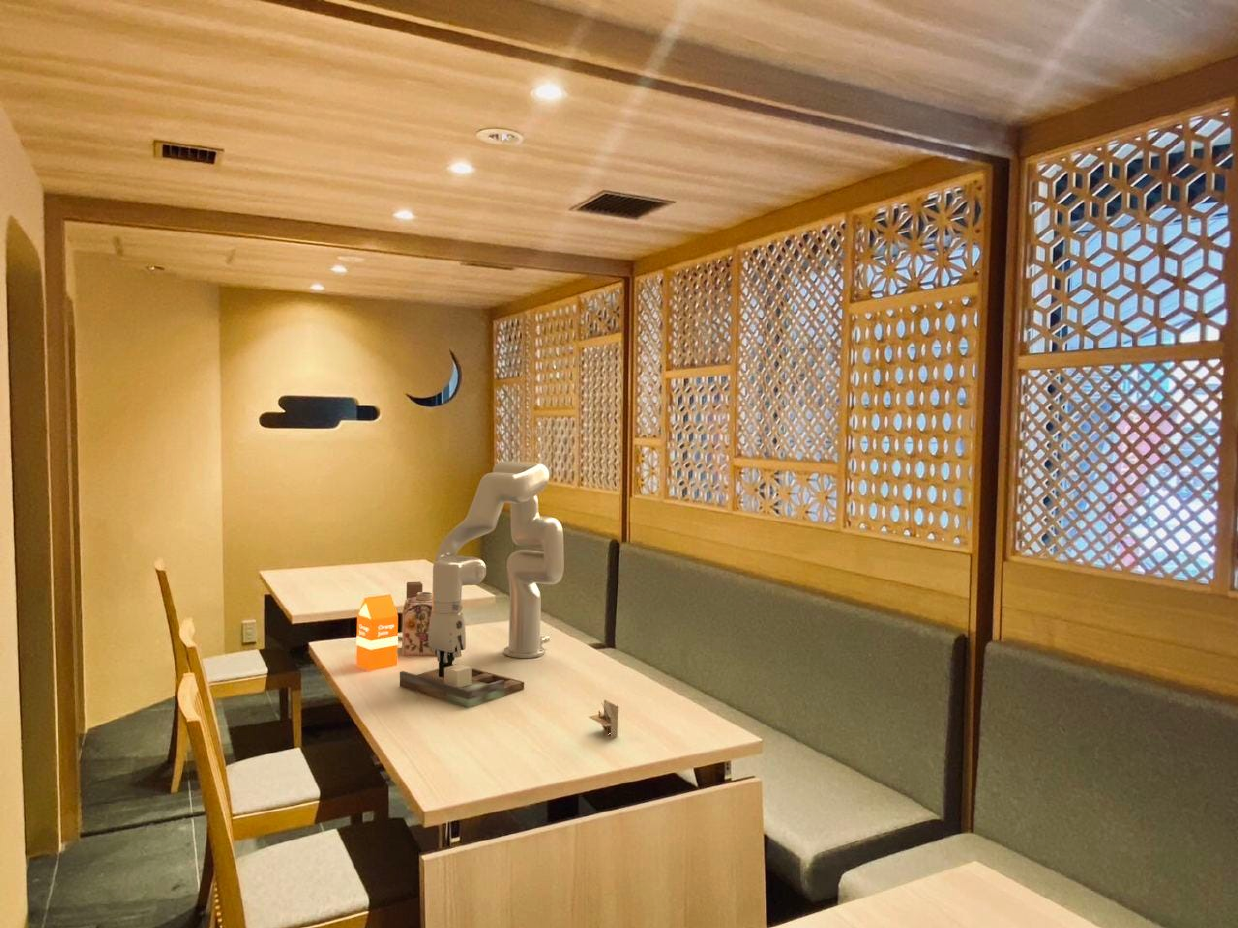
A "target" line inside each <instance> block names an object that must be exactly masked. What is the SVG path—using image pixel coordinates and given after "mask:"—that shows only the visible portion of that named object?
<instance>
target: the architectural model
mask: <svg viewBox="0 0 1238 928" xmlns="http://www.w3.org/2000/svg"><path fill="white" fill-rule="evenodd" d="M601 704H602V708H603V712H602V711H600V710H598V714H593V715H589V716H588V717H589V720H592V721H594V722H596V723H598V724H600V725H601V726H602V729H603V728H604V729H603V731H604V732H605V735H606V734H607V735H608V734H609V733H611V735H610V738H611V737H614V738H617V737H618V735H619V705H618V704H615V703H613V702H611V701H609V700H606V699H604V700H603V702H602V703H601ZM607 735H606V736H607ZM608 736H609V735H608ZM616 736H617V737H616Z"/></svg>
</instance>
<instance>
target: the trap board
mask: <svg viewBox="0 0 1238 928" xmlns="http://www.w3.org/2000/svg"><path fill="white" fill-rule="evenodd" d="M457 664H458V663H454V664H452V666H453V665H457ZM399 688H402V689H406V690H409V691H412V692H414V693H420V694H422V695H426V696H430V697H433V698H436V699H439V700H443V701H446V702H449V703H451V704H455V705H458V706H461V707H466V708H468V709H469V708H472V707H474V706H478V705H481V704H485V703H487V702H490V701H493V700H497V699H499V698H502V697H505V696H508V695H512V694H515V693H517V692H521V691H523V690H525V681H523V680H520V679H519V680H518V679H514V678H510V677H506V676H503V675H500V674H499V675H498V674H497V673H496V674H495V673H491V672H488V671H484V670H481V669H477V668H473V667H472V680H471V685H468V686H465V687H457V686H454V685H450V684H447V683H444V678H442V677H439V668H437V669H433V670H429V671H425V672H422V673H418V674H415V673H412V672H408V671H404V670H402V671H399Z"/></svg>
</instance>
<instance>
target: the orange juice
mask: <svg viewBox="0 0 1238 928" xmlns="http://www.w3.org/2000/svg"><path fill="white" fill-rule="evenodd" d="M398 629H399V615H398V612H397V610H396V606H395V603H394V600H393V597H392V594H383V595H377V596H376V595H375V596H369V597H364V598H363V600H362V603H361V605H360V608H359V610H358V612H357V614H356V643H355V644H356V655H355V656H356V659H355V661H356V665H357V666H356V667H360V668H362V669H364V670H367V671H370V672H372V671H377V670H382V669H385V668H392V667H395V666H398V645H399V636H398V634H399V631H398Z"/></svg>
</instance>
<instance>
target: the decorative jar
mask: <svg viewBox="0 0 1238 928" xmlns="http://www.w3.org/2000/svg"><path fill="white" fill-rule="evenodd" d="M432 595H433V592H430V591H422V592H418V593H417V596H416V597H413V598H409V599H407V598H406V600H405V601H404V606H403V610H402V633H401V634H402V637H401V639H402V640H401V648H402V649H401V654H402V656H403V657H437V655H436V653H434V652H433V651H431V647H430V646H429V623H430V617H431V612H432Z"/></svg>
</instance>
